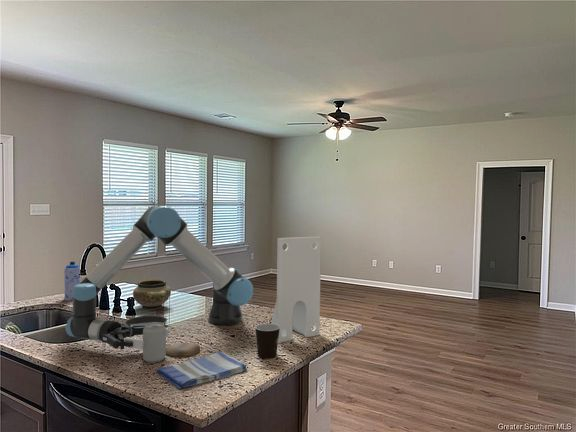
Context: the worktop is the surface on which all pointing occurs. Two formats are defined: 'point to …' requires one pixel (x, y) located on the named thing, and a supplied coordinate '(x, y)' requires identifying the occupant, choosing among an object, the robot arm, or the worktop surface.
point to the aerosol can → (71, 279)
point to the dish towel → (202, 370)
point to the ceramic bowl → (151, 294)
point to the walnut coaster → (182, 349)
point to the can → (154, 342)
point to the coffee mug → (267, 340)
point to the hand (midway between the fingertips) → (155, 338)
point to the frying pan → (145, 320)
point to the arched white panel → (298, 287)
